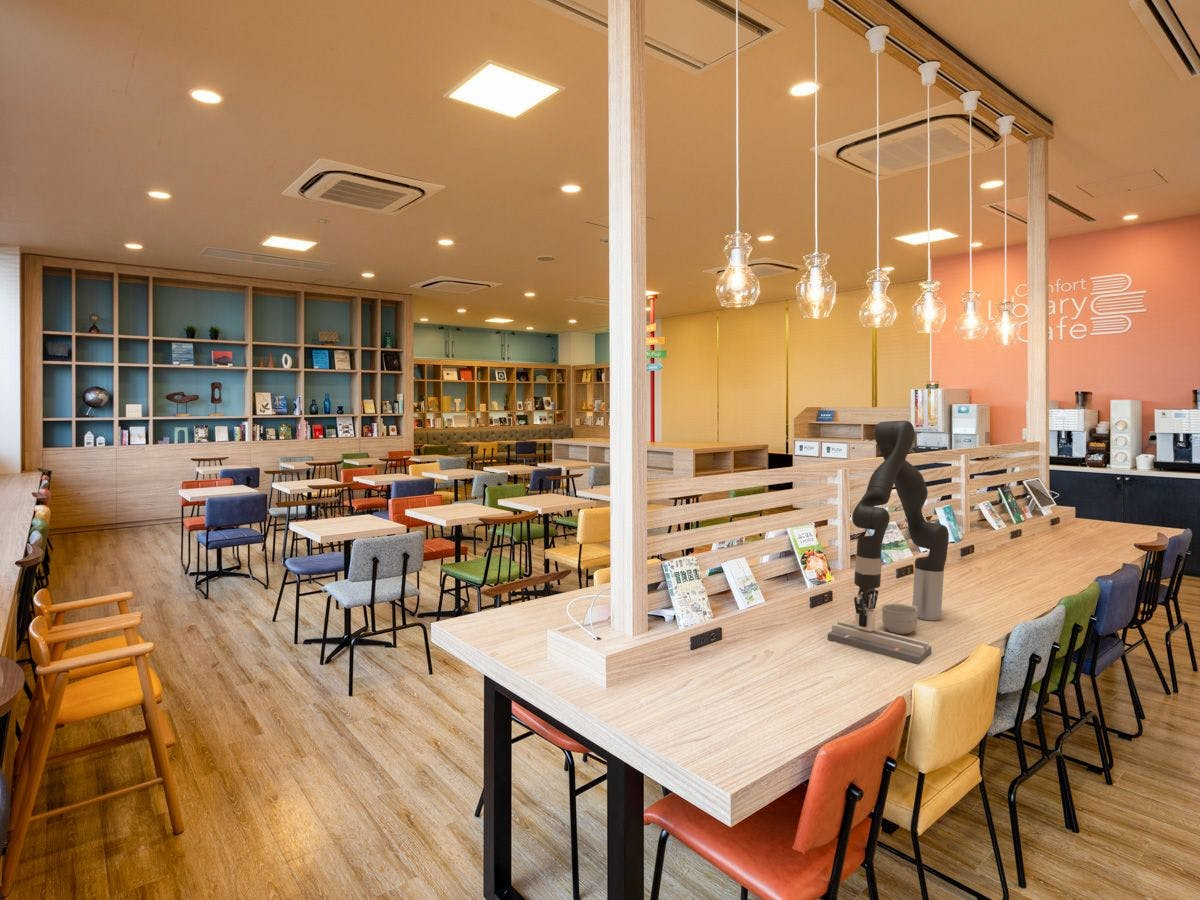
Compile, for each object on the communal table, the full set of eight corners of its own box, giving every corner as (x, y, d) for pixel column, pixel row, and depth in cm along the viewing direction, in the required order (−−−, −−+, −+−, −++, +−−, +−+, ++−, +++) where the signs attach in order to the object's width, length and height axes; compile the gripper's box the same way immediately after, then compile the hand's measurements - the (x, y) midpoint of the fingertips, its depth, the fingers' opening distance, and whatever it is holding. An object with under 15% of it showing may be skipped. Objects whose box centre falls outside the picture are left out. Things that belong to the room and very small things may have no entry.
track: (843, 630, 220) (843, 618, 220) (931, 652, 202) (932, 640, 202) (827, 639, 211) (828, 627, 211) (918, 664, 193) (918, 650, 193)
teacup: (895, 638, 214) (897, 613, 213) (873, 626, 224) (874, 603, 224) (932, 634, 218) (933, 610, 217) (908, 623, 228) (910, 600, 228)
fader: (858, 632, 212) (859, 606, 212) (874, 636, 209) (875, 610, 208) (854, 634, 210) (855, 608, 209) (870, 638, 207) (872, 612, 206)
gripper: (864, 564, 215) (861, 617, 217) (846, 572, 205) (843, 627, 207) (888, 568, 210) (885, 622, 212) (871, 577, 200) (868, 633, 202)
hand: (864, 624), depth 209 cm, fingers closed on fader, 3 cm apart
